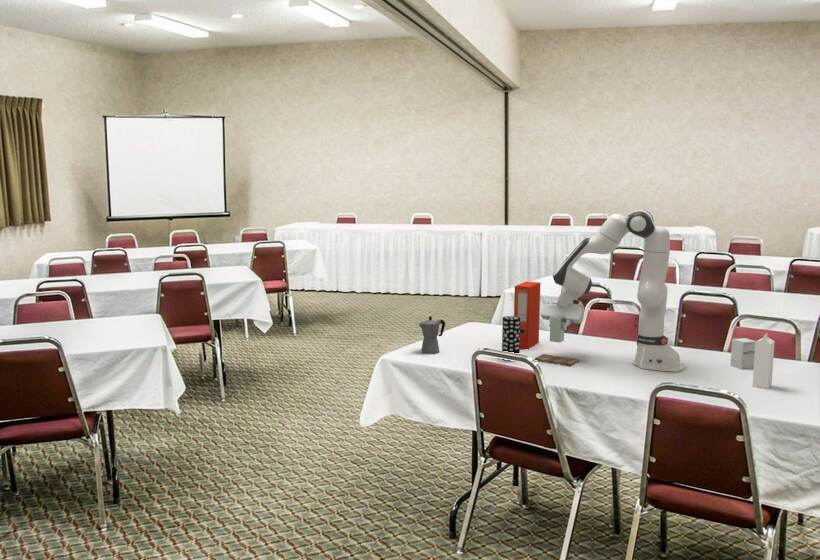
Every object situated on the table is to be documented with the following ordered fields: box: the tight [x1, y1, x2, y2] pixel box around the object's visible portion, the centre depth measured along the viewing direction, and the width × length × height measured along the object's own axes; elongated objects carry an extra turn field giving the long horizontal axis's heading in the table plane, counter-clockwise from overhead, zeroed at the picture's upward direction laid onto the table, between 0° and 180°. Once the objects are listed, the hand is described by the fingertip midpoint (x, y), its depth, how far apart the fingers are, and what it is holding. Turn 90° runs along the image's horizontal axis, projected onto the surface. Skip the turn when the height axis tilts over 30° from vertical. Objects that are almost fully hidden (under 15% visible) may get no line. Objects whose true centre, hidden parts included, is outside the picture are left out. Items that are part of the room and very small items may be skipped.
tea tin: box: [549, 314, 566, 344], centre depth 344 cm, size 5×5×12 cm
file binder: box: [513, 281, 541, 350], centre depth 376 cm, size 8×17×32 cm, turn 152°
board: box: [534, 353, 580, 367], centre depth 346 cm, size 18×10×1 cm, turn 55°
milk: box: [752, 332, 776, 389], centre depth 303 cm, size 6×6×22 cm
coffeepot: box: [418, 316, 446, 355], centre depth 365 cm, size 15×9×18 cm, turn 121°
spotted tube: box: [501, 315, 521, 362], centre depth 350 cm, size 8×8×20 cm
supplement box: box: [730, 337, 757, 370], centre depth 334 cm, size 7×7×13 cm
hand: (557, 327), depth 344 cm, fingers closed on tea tin, 5 cm apart
